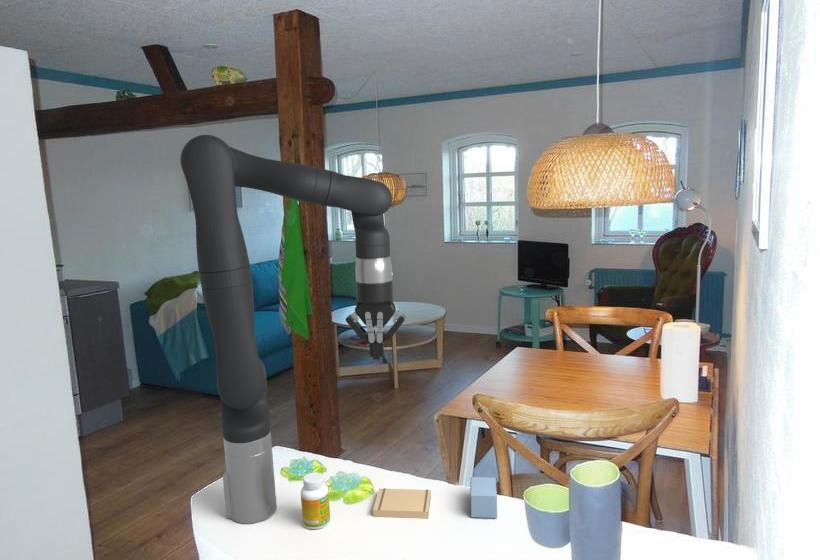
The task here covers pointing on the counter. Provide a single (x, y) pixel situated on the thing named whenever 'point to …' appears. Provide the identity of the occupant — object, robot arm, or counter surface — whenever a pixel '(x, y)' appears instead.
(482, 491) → the stub
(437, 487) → the counter surface
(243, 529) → the counter surface
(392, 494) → the board
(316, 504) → the supplement bottle
